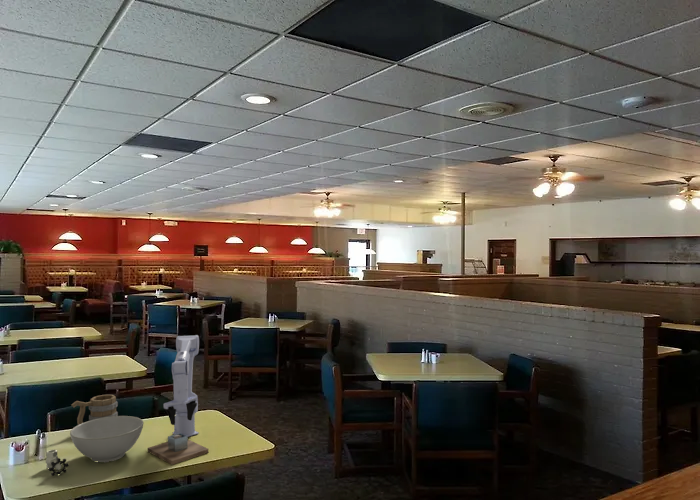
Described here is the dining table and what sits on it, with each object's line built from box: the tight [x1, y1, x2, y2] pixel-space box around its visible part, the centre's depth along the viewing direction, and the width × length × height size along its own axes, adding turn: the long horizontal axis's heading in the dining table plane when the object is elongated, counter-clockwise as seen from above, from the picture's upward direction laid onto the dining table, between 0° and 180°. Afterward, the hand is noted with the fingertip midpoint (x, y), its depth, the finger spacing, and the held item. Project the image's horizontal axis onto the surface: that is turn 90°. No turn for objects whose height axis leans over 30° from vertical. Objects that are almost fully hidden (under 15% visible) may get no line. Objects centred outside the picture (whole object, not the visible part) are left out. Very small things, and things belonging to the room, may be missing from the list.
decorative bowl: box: [69, 415, 144, 463], centre depth 214 cm, size 27×27×12 cm
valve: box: [45, 449, 69, 477], centre depth 200 cm, size 7×7×12 cm
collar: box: [167, 433, 189, 452], centre depth 217 cm, size 6×6×5 cm
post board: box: [147, 434, 209, 465], centre depth 217 cm, size 20×16×6 cm
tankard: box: [71, 394, 119, 425], centre depth 246 cm, size 20×13×15 cm, turn 133°
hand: (181, 422), depth 223 cm, fingers open, 7 cm apart
